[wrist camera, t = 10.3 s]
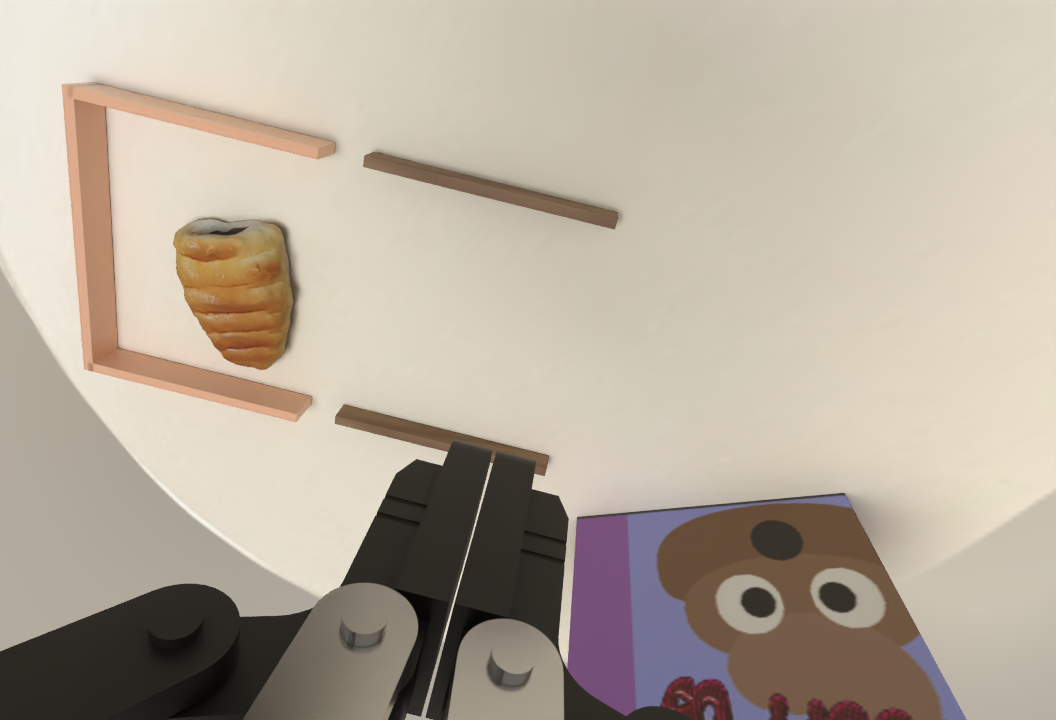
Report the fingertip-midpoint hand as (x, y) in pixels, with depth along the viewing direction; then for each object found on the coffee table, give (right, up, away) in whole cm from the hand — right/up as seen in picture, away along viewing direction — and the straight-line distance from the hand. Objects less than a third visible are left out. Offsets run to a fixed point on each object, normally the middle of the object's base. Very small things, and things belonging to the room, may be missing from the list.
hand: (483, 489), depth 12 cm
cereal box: (+13, -9, +34) cm, 38 cm away
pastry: (-16, +7, +30) cm, 35 cm away
